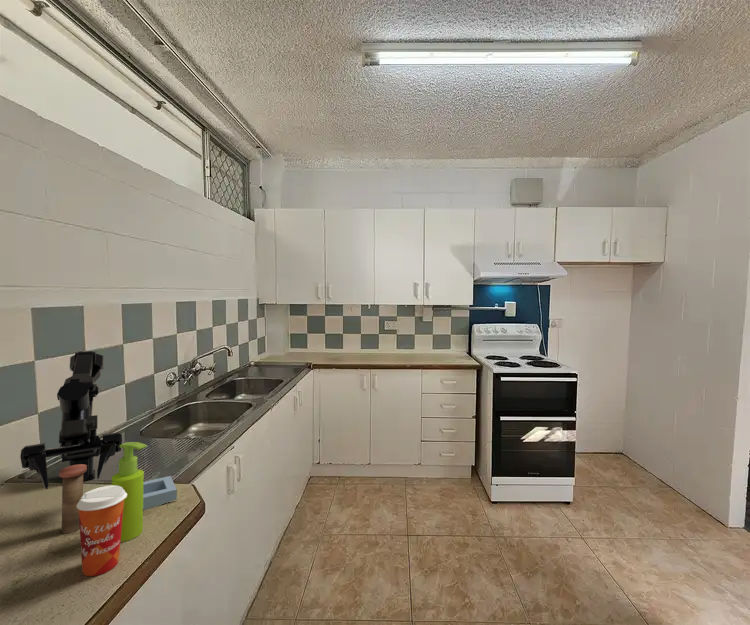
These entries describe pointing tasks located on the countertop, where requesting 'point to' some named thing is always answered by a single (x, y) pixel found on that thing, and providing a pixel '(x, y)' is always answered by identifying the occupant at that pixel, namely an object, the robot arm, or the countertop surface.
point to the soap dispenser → (131, 491)
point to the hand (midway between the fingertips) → (73, 482)
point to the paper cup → (101, 528)
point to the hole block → (158, 492)
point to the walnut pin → (71, 496)
